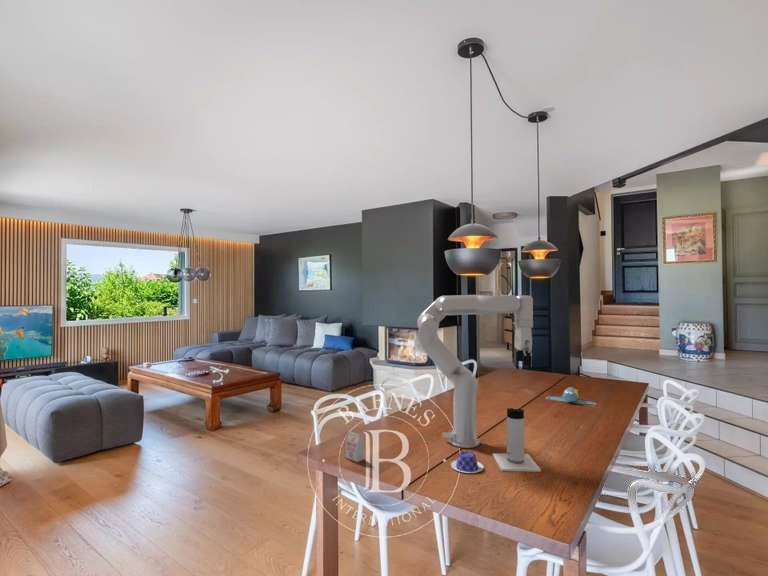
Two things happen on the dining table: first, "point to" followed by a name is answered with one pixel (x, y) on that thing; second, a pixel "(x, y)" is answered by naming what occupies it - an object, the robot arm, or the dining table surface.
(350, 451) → the small printed carton
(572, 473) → the dining table surface
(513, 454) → the travel mug
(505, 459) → the plate
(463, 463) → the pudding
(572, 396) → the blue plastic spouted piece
